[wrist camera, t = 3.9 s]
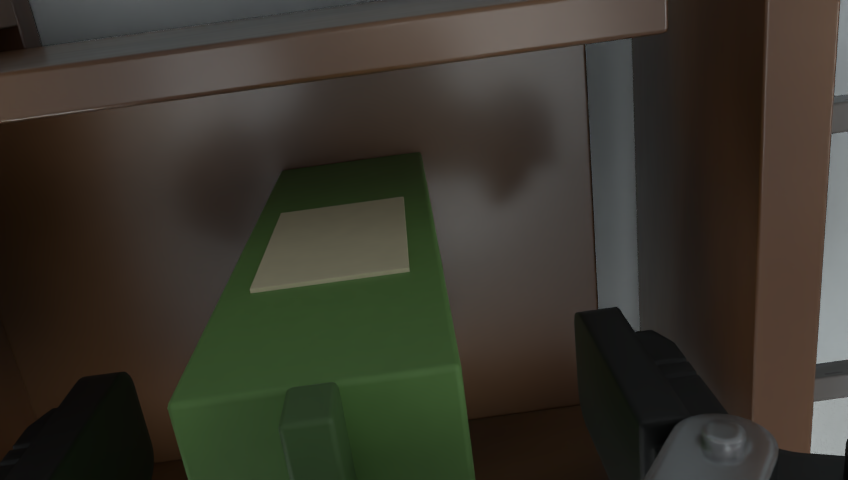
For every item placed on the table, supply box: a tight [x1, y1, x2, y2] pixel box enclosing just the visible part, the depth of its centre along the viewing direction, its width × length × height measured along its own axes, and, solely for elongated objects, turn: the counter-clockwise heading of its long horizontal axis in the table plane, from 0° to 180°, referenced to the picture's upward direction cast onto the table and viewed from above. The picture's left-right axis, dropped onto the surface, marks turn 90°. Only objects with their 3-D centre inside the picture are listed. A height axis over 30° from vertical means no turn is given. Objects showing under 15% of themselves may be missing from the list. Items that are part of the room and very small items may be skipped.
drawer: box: [0, 0, 848, 480], centre depth 17 cm, size 23×14×7 cm, turn 97°
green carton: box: [167, 152, 476, 480], centre depth 14 cm, size 5×3×11 cm, turn 7°
